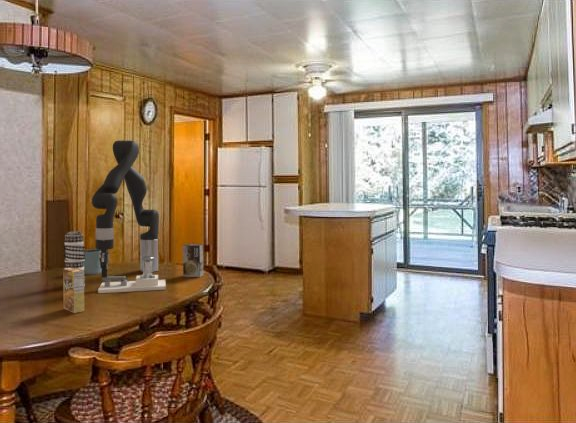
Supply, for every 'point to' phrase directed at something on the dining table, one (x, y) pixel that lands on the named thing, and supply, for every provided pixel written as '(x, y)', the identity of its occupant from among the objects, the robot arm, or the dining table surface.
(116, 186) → the robot arm
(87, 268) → the blue cylindrical container
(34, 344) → the dining table surface
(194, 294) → the dining table surface
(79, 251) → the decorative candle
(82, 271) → the candy box
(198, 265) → the coffee box
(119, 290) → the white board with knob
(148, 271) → the steel pin
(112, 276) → the latch lever
